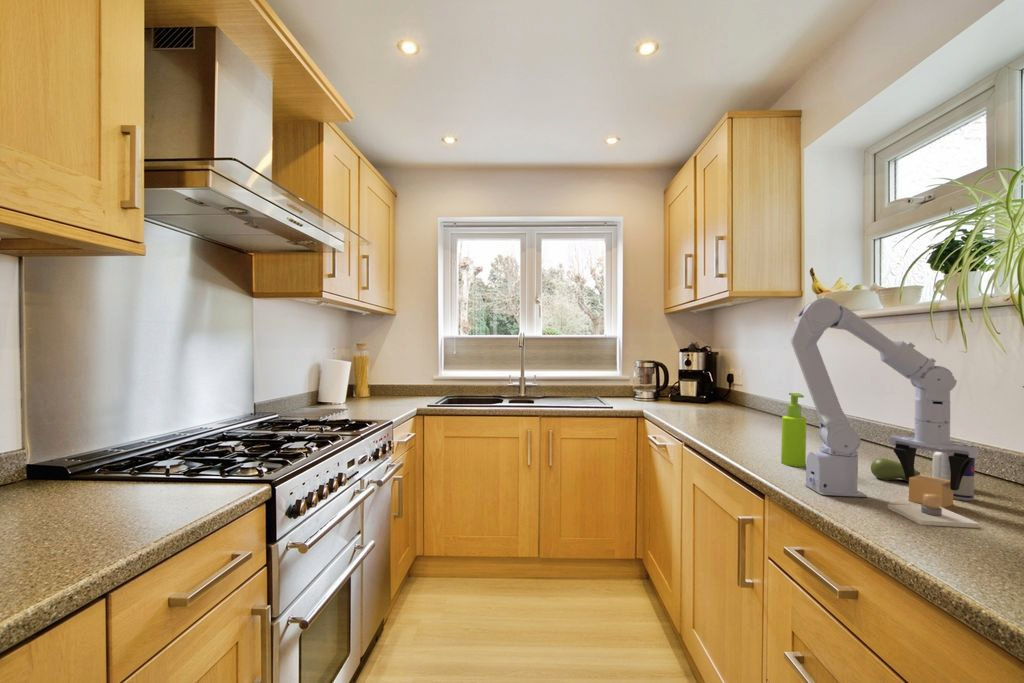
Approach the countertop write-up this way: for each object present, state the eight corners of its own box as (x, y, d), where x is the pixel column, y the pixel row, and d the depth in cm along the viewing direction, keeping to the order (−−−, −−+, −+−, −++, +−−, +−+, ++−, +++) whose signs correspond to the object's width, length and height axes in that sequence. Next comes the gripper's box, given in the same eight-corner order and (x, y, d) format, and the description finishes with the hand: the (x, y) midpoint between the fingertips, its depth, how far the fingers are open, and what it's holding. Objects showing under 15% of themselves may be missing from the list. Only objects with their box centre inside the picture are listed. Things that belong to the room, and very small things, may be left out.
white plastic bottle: (965, 489, 113) (966, 438, 113) (935, 486, 115) (936, 436, 115) (955, 484, 117) (956, 435, 117) (927, 481, 119) (927, 433, 119)
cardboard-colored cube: (941, 508, 99) (942, 484, 99) (908, 500, 103) (909, 477, 103) (953, 504, 101) (953, 481, 101) (920, 496, 106) (920, 474, 106)
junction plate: (920, 524, 89) (921, 501, 89) (888, 508, 98) (888, 487, 98) (979, 527, 88) (979, 504, 88) (940, 510, 97) (941, 489, 97)
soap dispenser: (787, 467, 131) (788, 394, 131) (777, 461, 138) (779, 391, 138) (811, 468, 130) (812, 394, 130) (800, 462, 137) (801, 392, 137)
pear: (869, 453, 124) (916, 464, 121) (865, 473, 124) (911, 484, 121) (878, 458, 119) (926, 469, 115) (873, 479, 119) (922, 490, 116)
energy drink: (980, 502, 103) (981, 446, 103) (951, 500, 104) (952, 445, 104) (962, 494, 109) (963, 441, 109) (935, 492, 110) (936, 440, 110)
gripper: (985, 425, 98) (984, 491, 98) (900, 415, 111) (900, 474, 111) (971, 427, 95) (970, 496, 95) (885, 417, 107) (885, 477, 107)
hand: (931, 484), depth 102 cm, fingers open, 7 cm apart
